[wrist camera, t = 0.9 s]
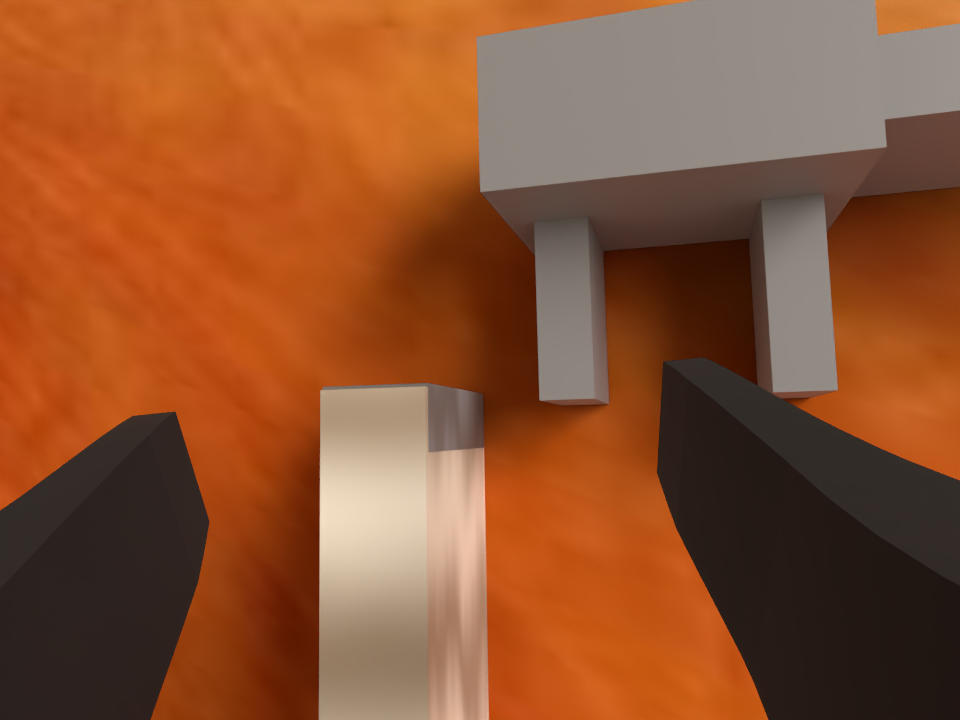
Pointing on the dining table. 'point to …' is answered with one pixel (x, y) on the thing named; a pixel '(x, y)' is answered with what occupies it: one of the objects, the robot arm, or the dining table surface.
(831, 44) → the grey stepped block
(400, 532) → the birch rail
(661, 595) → the dining table surface
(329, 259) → the dining table surface
